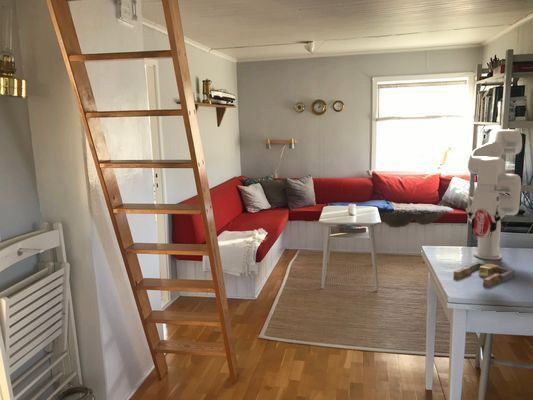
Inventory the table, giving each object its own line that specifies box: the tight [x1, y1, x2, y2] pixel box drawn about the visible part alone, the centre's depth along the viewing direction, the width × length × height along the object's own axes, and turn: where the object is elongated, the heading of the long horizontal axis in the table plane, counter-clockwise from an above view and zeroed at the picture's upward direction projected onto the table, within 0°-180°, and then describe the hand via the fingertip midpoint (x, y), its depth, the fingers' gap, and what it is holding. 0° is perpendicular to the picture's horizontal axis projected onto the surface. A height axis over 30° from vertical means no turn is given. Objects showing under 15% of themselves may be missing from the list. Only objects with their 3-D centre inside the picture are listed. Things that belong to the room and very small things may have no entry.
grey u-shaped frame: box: [464, 261, 516, 282], centre depth 196 cm, size 12×17×2 cm
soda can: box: [473, 209, 492, 238], centre depth 187 cm, size 7×7×12 cm
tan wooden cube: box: [478, 265, 494, 278], centre depth 194 cm, size 4×4×4 cm
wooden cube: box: [486, 263, 500, 275], centre depth 196 cm, size 4×4×4 cm
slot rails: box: [453, 265, 501, 288], centre depth 189 cm, size 12×14×3 cm
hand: (483, 229), depth 188 cm, fingers closed on soda can, 7 cm apart
